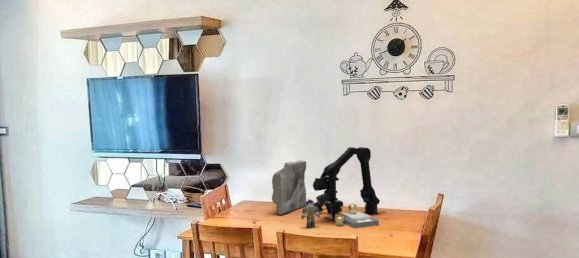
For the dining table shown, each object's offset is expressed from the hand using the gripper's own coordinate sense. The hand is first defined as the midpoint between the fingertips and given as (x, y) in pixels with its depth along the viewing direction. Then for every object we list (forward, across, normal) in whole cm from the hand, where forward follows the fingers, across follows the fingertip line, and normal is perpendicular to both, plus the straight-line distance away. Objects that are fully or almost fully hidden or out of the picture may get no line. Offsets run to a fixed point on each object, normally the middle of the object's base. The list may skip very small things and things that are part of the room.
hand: (331, 216), depth 259 cm
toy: (+2, +9, -16) cm, 19 cm away
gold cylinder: (+2, +12, -1) cm, 12 cm away
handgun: (+2, -17, +4) cm, 18 cm away
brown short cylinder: (+1, 0, 0) cm, 1 cm away
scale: (+2, +11, +10) cm, 15 cm away
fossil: (+2, -35, -12) cm, 37 cm away
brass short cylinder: (-2, +5, +10) cm, 12 cm away
